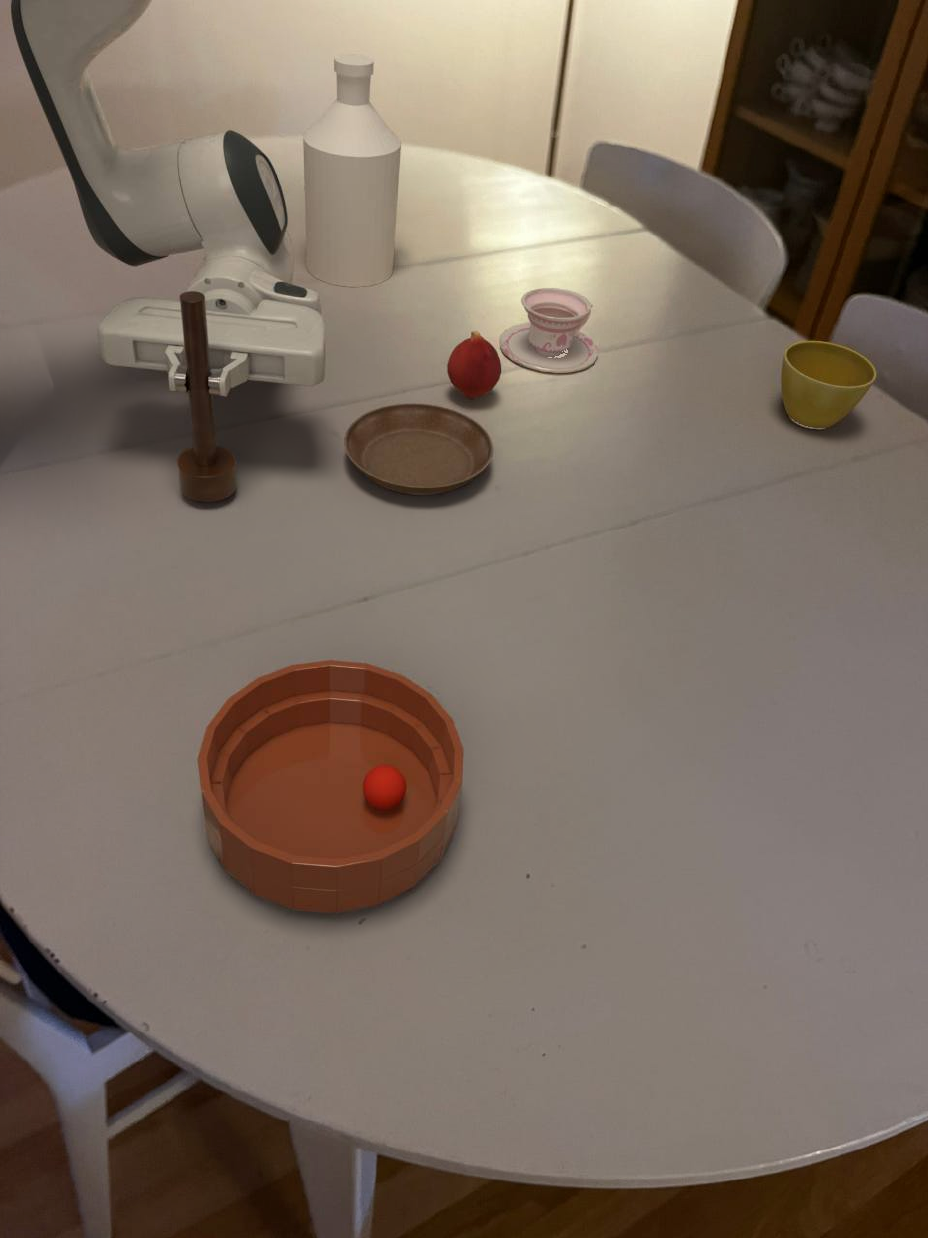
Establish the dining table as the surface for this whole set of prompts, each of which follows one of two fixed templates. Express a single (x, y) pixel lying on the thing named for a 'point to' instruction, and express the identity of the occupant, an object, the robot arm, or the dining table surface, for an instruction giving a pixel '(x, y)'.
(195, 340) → the wooden peg stand
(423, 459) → the saucer
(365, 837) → the bowl
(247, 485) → the dining table surface
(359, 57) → the bottle
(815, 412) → the flower pot
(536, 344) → the teacup
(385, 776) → the cherry tomato
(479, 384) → the onion
